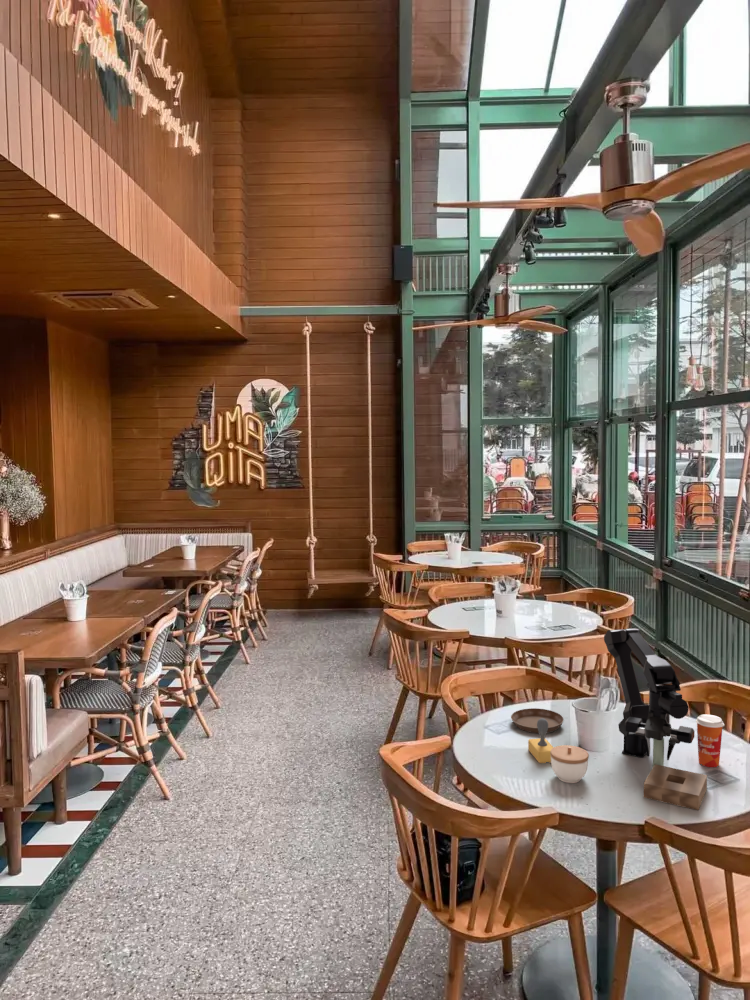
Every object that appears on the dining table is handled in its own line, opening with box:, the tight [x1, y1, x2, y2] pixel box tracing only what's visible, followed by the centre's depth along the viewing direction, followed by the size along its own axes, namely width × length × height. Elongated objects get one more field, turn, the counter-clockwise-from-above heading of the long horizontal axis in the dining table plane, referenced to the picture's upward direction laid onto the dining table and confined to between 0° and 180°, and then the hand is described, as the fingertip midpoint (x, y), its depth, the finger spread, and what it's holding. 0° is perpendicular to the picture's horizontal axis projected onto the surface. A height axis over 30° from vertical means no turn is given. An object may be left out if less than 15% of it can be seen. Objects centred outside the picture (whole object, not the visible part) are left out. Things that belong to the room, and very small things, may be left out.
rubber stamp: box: [527, 718, 555, 764], centre depth 232 cm, size 10×6×12 cm, turn 7°
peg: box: [652, 737, 665, 767], centre depth 220 cm, size 3×3×10 cm
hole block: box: [643, 764, 708, 811], centre depth 206 cm, size 14×14×4 cm
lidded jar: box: [550, 744, 590, 784], centre depth 216 cm, size 11×11×9 cm
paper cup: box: [695, 713, 725, 768], centre depth 224 cm, size 8×8×14 cm
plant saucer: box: [510, 707, 565, 734], centre depth 257 cm, size 18×18×3 cm
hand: (658, 757), depth 220 cm, fingers open, 5 cm apart
